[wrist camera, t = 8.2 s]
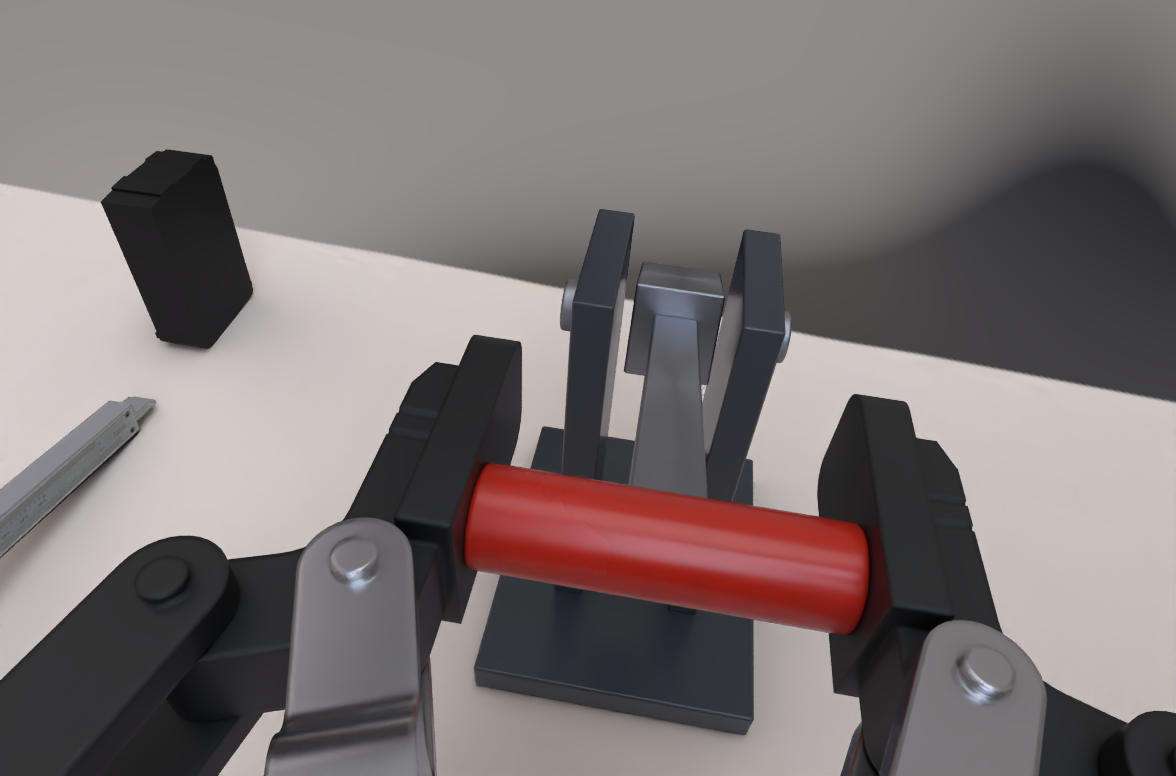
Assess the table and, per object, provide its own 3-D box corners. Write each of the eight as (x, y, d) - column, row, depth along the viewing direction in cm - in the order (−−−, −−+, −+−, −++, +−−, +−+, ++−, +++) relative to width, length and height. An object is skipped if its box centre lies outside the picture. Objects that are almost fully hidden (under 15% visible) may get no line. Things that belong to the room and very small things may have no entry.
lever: (841, 691, 9) (892, 529, 9) (457, 621, 10) (467, 459, 9) (753, 360, 22) (770, 279, 21) (583, 334, 22) (593, 253, 21)
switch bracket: (746, 736, 24) (895, 454, 14) (474, 685, 25) (447, 383, 15) (747, 477, 32) (844, 185, 22) (541, 443, 33) (551, 145, 23)
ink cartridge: (213, 286, 39) (163, 142, 34) (255, 292, 39) (212, 148, 33) (160, 346, 36) (94, 195, 30) (205, 353, 35) (148, 203, 30)
